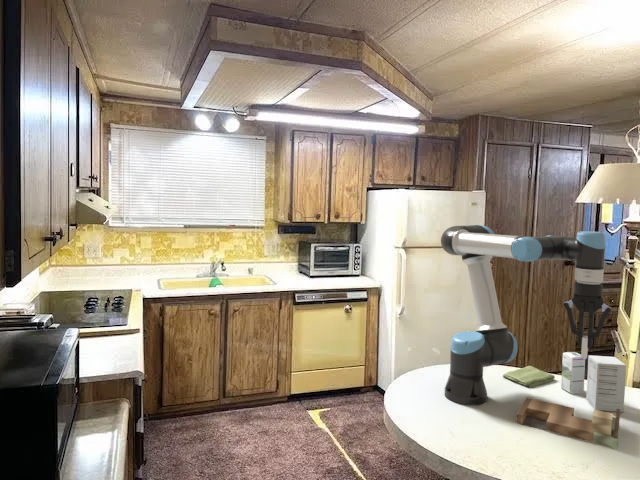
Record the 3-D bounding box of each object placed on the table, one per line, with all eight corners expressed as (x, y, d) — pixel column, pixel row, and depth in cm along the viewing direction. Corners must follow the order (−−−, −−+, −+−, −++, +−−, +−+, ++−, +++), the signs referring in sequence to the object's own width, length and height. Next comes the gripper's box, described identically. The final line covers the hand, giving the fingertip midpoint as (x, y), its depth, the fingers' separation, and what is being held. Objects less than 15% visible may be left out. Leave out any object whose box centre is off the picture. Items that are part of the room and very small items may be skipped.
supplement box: (624, 413, 162) (627, 365, 160) (595, 410, 163) (597, 363, 162) (613, 401, 171) (615, 356, 169) (585, 399, 173) (587, 354, 171)
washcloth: (500, 378, 193) (501, 370, 193) (529, 371, 202) (529, 364, 201) (528, 389, 182) (528, 381, 182) (557, 381, 190) (557, 374, 190)
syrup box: (584, 393, 178) (586, 356, 176) (570, 394, 177) (572, 357, 175) (574, 387, 183) (576, 351, 182) (560, 388, 182) (562, 352, 181)
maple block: (591, 431, 142) (592, 415, 142) (593, 424, 146) (594, 409, 146) (610, 436, 139) (612, 419, 139) (611, 429, 144) (612, 413, 143)
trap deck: (516, 422, 154) (516, 405, 153) (525, 405, 167) (526, 389, 166) (616, 448, 138) (618, 429, 137) (619, 427, 151) (620, 409, 151)
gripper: (562, 281, 144) (559, 356, 146) (613, 286, 136) (608, 365, 138) (566, 278, 150) (562, 350, 152) (614, 282, 142) (609, 358, 144)
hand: (584, 357), depth 145 cm, fingers closed
